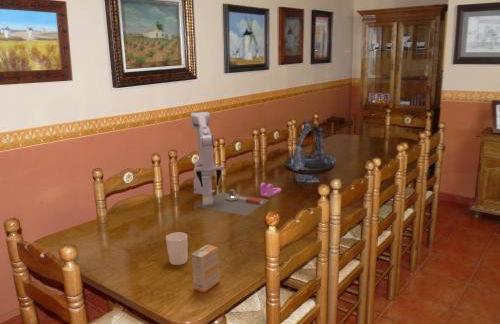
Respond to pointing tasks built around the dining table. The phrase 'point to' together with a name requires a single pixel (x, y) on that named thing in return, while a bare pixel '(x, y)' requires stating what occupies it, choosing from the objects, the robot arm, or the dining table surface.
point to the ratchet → (242, 198)
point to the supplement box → (205, 268)
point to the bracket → (269, 190)
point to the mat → (231, 205)
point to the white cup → (177, 248)
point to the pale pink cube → (208, 199)
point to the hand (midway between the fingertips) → (209, 185)
